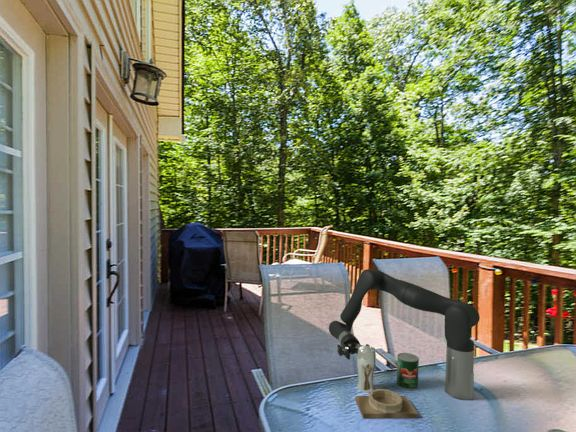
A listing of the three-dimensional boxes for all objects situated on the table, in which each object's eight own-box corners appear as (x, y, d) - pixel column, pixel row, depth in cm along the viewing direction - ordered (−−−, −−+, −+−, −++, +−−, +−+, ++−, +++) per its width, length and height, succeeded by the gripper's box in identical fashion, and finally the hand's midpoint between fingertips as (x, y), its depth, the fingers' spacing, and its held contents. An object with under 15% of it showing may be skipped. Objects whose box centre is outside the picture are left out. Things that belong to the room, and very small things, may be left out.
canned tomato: (405, 391, 134) (406, 362, 133) (392, 381, 141) (393, 354, 141) (422, 388, 137) (423, 359, 136) (408, 378, 144) (409, 351, 144)
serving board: (405, 400, 128) (405, 388, 128) (417, 418, 117) (418, 405, 117) (355, 400, 127) (355, 388, 127) (363, 418, 116) (363, 406, 116)
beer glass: (375, 394, 131) (376, 353, 131) (355, 391, 133) (357, 351, 132) (374, 385, 138) (375, 346, 138) (356, 382, 139) (357, 344, 139)
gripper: (333, 333, 159) (342, 348, 142) (364, 333, 160) (377, 347, 144) (332, 350, 159) (342, 366, 143) (364, 350, 160) (376, 366, 144)
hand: (359, 357), depth 143 cm, fingers open, 8 cm apart
